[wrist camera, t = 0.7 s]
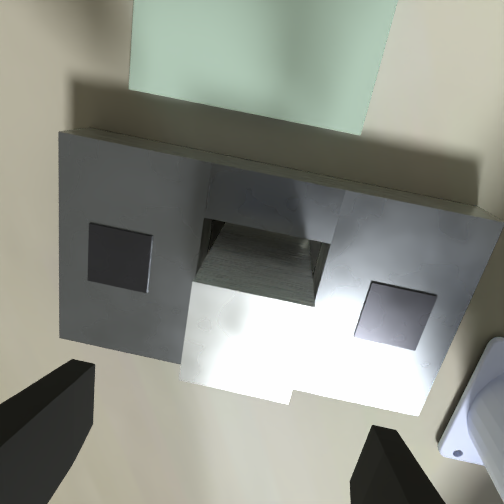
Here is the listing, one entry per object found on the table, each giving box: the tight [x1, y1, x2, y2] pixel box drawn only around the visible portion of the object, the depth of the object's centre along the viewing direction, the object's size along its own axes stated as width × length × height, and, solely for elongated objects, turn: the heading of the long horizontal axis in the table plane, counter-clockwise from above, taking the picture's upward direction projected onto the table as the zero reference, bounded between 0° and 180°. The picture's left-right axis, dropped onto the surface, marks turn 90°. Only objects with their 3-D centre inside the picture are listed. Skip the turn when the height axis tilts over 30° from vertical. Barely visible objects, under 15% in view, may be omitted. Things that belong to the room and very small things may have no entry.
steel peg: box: [179, 222, 315, 404], centre depth 16 cm, size 4×4×7 cm
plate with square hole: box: [59, 127, 504, 416], centre depth 18 cm, size 18×10×3 cm, turn 80°
